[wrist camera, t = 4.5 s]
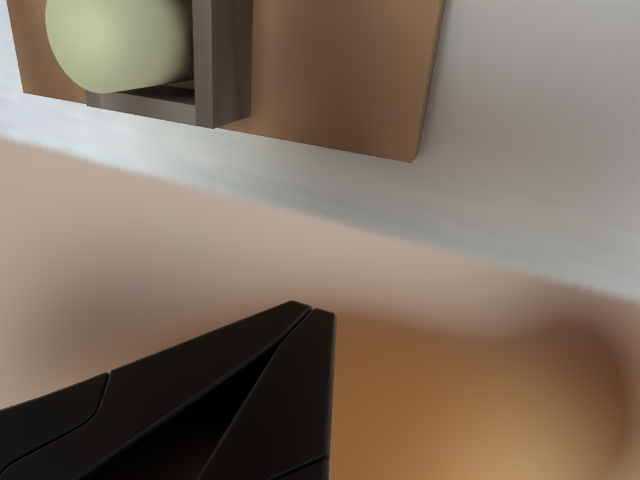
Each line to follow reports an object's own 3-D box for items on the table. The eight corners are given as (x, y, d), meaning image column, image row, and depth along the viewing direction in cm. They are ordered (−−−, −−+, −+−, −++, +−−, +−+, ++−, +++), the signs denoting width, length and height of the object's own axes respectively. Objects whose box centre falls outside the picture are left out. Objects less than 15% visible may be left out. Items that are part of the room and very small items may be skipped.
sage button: (218, -13, 17) (131, -27, 13) (219, 86, 18) (140, 100, 14) (140, -20, 18) (36, -34, 14) (146, 74, 19) (55, 86, 15)
